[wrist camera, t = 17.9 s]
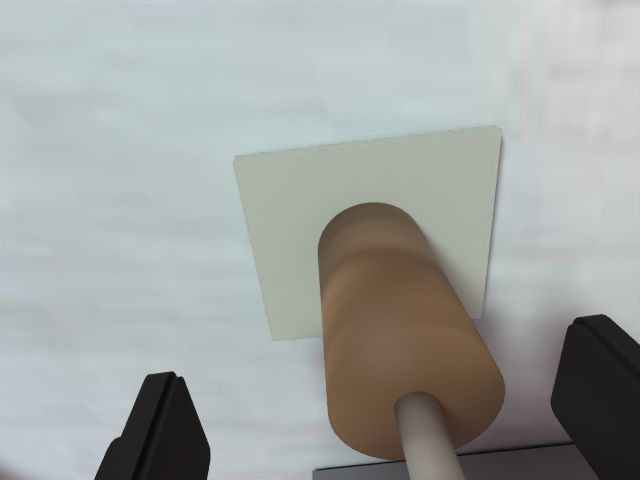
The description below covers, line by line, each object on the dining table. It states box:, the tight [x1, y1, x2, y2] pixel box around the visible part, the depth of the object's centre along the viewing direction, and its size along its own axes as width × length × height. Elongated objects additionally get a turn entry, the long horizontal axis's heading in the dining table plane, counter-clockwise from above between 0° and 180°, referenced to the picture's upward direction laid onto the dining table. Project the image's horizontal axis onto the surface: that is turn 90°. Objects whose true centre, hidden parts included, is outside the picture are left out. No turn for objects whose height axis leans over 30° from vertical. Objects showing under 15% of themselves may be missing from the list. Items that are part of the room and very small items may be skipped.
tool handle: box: [318, 202, 505, 480], centre depth 11 cm, size 4×4×9 cm
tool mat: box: [233, 126, 502, 341], centre depth 15 cm, size 9×8×1 cm
